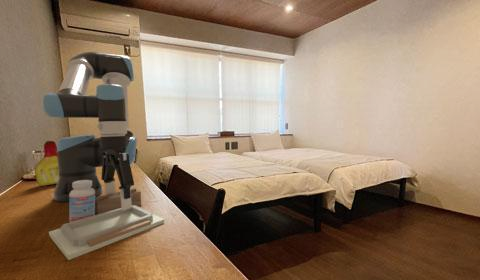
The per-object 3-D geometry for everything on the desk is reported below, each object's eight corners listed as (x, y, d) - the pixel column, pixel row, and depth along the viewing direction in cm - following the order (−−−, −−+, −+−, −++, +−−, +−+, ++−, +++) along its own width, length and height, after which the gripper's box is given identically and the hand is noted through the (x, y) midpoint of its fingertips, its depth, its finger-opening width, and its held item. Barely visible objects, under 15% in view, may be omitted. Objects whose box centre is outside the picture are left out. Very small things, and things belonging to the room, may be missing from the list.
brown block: (92, 213, 69) (91, 194, 69) (134, 202, 79) (133, 185, 79) (98, 218, 66) (97, 198, 66) (141, 205, 76) (140, 188, 76)
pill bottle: (70, 226, 59) (69, 185, 59) (68, 219, 64) (68, 181, 64) (96, 221, 63) (96, 182, 63) (93, 214, 68) (93, 178, 67)
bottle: (36, 188, 96) (33, 142, 94) (35, 185, 100) (32, 141, 99) (71, 182, 105) (68, 140, 103) (68, 180, 109) (65, 139, 107)
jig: (49, 235, 55) (48, 225, 55) (136, 209, 72) (136, 201, 72) (68, 260, 45) (67, 248, 45) (164, 222, 62) (164, 214, 62)
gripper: (86, 136, 73) (91, 201, 75) (116, 136, 59) (122, 217, 60) (111, 135, 79) (115, 195, 81) (144, 134, 65) (148, 209, 66)
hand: (118, 205), depth 70 cm, fingers open, 10 cm apart
